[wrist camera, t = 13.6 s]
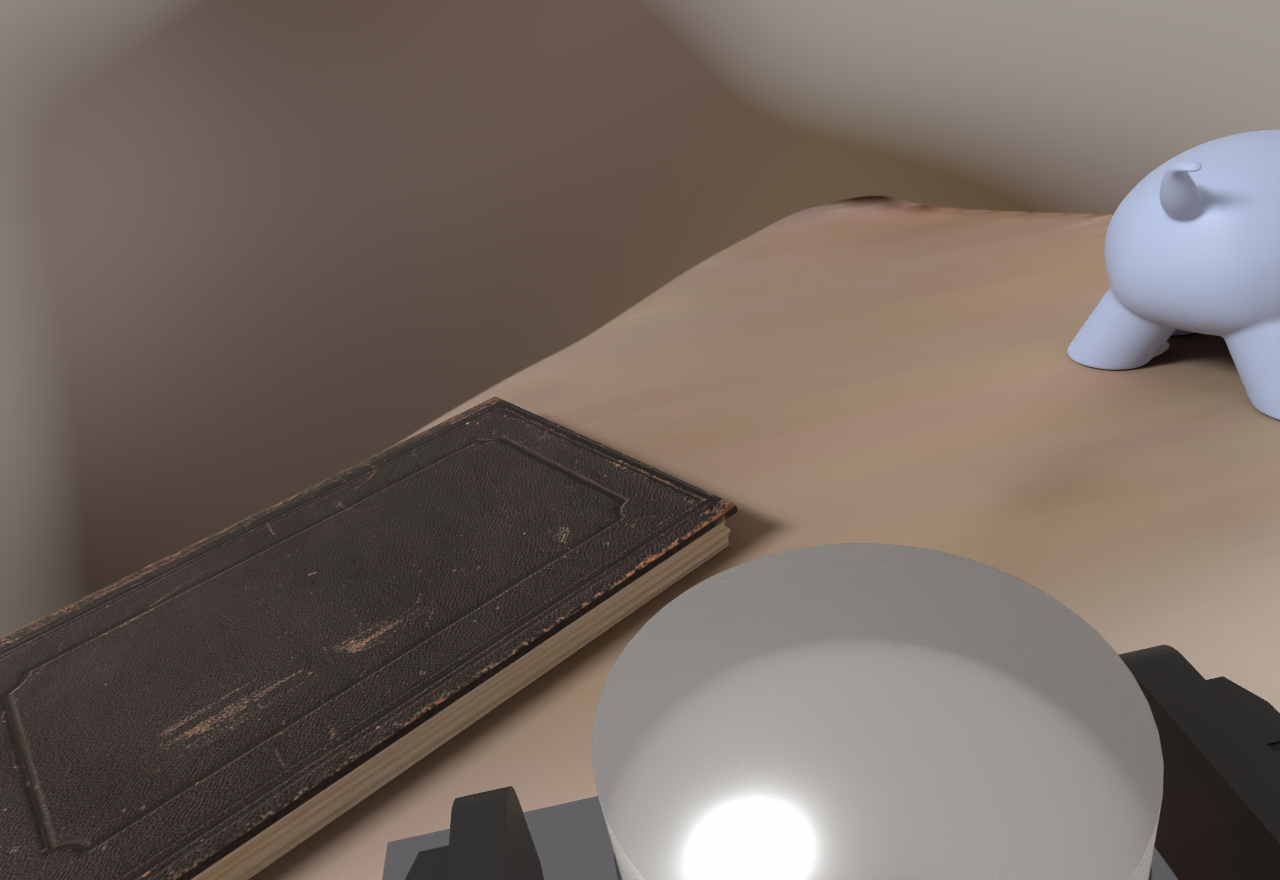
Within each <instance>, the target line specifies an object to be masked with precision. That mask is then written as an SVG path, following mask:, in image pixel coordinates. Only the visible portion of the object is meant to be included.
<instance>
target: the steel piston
mask: <svg viewBox="0 0 1280 880" xmlns="http://www.w3.org/2000/svg"><path fill="white" fill-rule="evenodd" d="M592 767H593V772H594V778H595V784H596V789H597V794H598V797H599V801H600V804H601V808H602V811H603V815H604V818H605V822H606V825H607V829H608V832H609V836H610V839H611V843H612V846H613V850H614V862H615V867H616V873H617V878H618V880H1152V867H1151V861H1152V856H1153V850H1154V844H1155V838H1156V832H1157V827H1158V821H1159V815H1160V809H1161V803H1162V797H1163V771H1164V762H1163V756H1162V750H1161V744H1160V738H1159V732H1158V729H1157V726H1156V723H1155V721H1154V718H1153V715H1152V712H1151V709H1150V706H1149V703H1148V701H1147V700H1146V698H1145V696H1144V694H1143V692H1142V690H1141V688H1140V686H1139V685H1138V683H1137V681H1136V679H1135V677H1134V675H1133V674H1132V673H1131V671H1130V670H1129V669H1128V667H1127V666H1126V665H1125V663H1124V662H1123V661H1122V659H1121V658H1120V657H1119V655H1118V654H1117V652H1116V651H1115V650H1114V649H1113V648H1112V647H1111V646H1110V645H1109V644H1108V643H1107V642H1106V641H1105V640H1104V639H1103V638H1102V636H1101V635H1100V634H1099V633H1098V632H1097V631H1096V630H1095V629H1094V628H1093V627H1091V626H1090V625H1089V624H1088V623H1087V622H1085V621H1084V620H1083V619H1082V618H1080V617H1079V616H1078V615H1077V614H1076V613H1074V612H1073V611H1072V610H1071V609H1069V608H1068V607H1066V606H1065V605H1063V604H1062V603H1060V602H1059V601H1057V600H1056V599H1054V598H1053V597H1051V596H1050V595H1048V594H1047V593H1045V592H1044V591H1042V590H1040V589H1038V588H1036V587H1034V586H1032V585H1030V584H1028V583H1027V582H1025V581H1023V580H1021V579H1019V578H1017V577H1015V576H1012V575H1010V574H1008V573H1005V572H1003V571H1000V570H998V569H996V568H993V567H991V566H988V565H985V564H982V563H979V562H976V561H973V560H969V559H966V558H963V557H960V556H956V555H952V554H947V553H943V552H939V551H934V550H930V549H923V548H916V547H909V546H902V545H890V544H875V543H846V544H831V545H820V546H811V547H805V548H799V549H794V550H788V551H783V552H779V553H775V554H771V555H768V556H764V557H760V558H757V559H754V560H751V561H748V562H745V563H742V564H740V565H737V566H734V567H732V568H729V569H727V570H725V571H723V572H720V573H718V574H716V575H714V576H712V577H709V578H708V579H706V580H704V581H702V582H701V583H699V584H697V585H695V586H694V587H692V588H690V589H688V590H687V591H685V592H684V593H682V594H681V595H680V596H678V597H677V598H675V599H674V600H673V601H671V602H670V603H668V604H667V605H666V606H664V607H663V608H662V609H661V610H660V611H659V612H658V613H657V614H655V615H654V616H653V617H652V618H651V619H650V620H649V621H648V622H647V623H646V624H645V625H644V626H643V627H642V628H641V629H640V630H639V631H638V633H637V634H636V635H635V636H634V637H633V638H632V639H631V641H630V642H629V643H628V645H627V646H626V647H625V649H624V650H623V652H622V653H621V655H620V656H619V658H618V659H617V661H616V662H615V664H614V666H613V668H612V670H611V672H610V674H609V676H608V678H607V680H606V682H605V684H604V687H603V690H602V693H601V696H600V699H599V702H598V705H597V709H596V713H595V719H594V726H593V732H592Z"/></svg>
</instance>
